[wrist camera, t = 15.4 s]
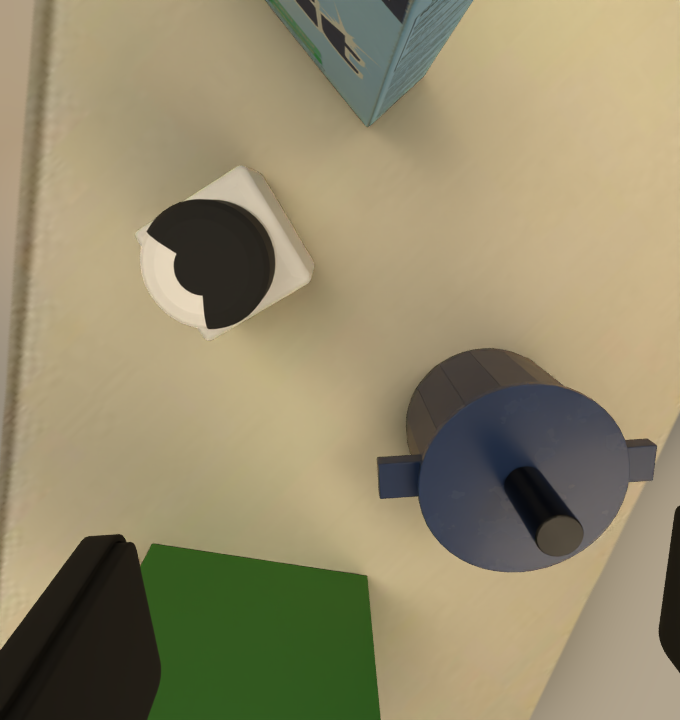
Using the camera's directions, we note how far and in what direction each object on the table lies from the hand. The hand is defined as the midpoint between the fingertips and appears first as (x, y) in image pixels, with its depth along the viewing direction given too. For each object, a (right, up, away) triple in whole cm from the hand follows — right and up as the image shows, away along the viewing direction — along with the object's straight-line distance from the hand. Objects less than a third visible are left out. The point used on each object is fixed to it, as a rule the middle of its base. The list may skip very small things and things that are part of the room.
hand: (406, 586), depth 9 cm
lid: (+10, -3, +22) cm, 24 cm away
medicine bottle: (-8, +12, +26) cm, 30 cm away
